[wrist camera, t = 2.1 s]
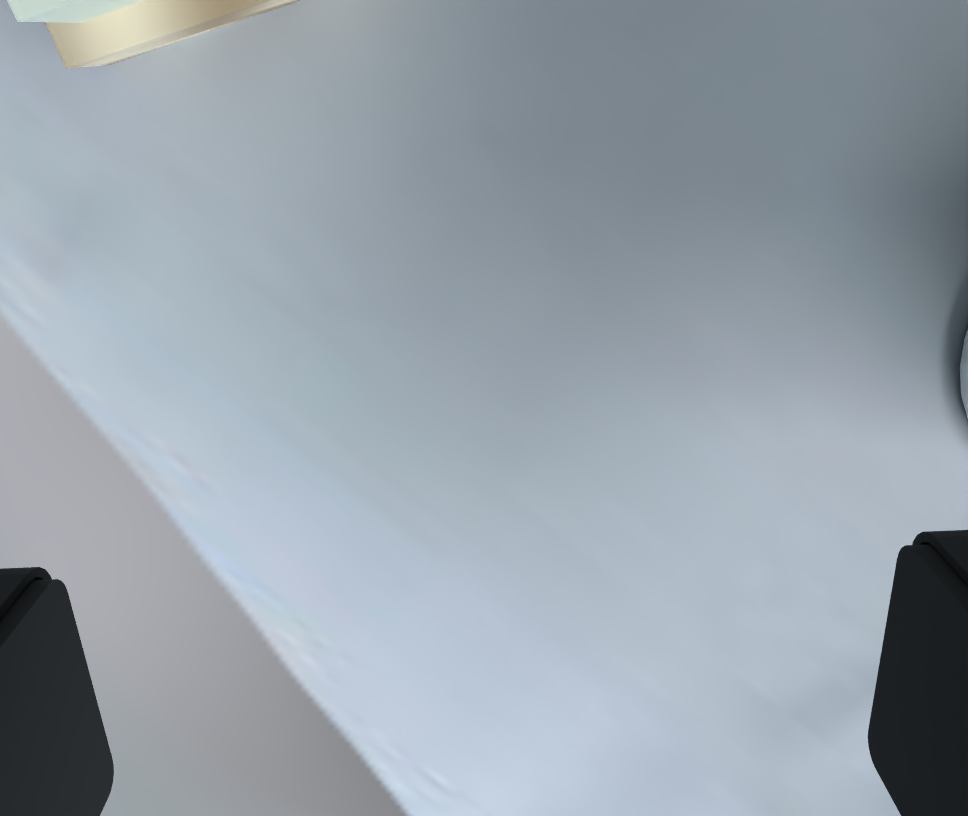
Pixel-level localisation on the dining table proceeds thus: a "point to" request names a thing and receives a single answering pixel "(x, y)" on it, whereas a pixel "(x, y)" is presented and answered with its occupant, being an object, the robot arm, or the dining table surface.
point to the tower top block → (64, 9)
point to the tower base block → (147, 28)
